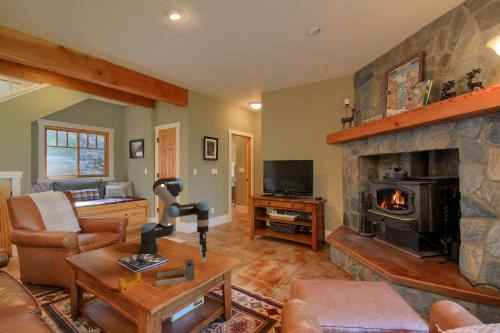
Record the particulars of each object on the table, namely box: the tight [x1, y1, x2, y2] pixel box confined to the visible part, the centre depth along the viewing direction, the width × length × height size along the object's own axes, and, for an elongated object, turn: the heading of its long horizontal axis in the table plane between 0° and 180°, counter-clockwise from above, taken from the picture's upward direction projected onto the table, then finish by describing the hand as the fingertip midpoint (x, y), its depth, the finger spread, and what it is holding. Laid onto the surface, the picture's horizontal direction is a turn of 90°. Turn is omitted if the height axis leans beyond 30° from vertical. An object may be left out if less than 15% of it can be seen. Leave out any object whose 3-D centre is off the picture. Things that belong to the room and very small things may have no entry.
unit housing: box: [184, 258, 195, 282], centre depth 153 cm, size 11×5×10 cm, turn 18°
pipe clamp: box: [118, 271, 142, 293], centre depth 139 cm, size 12×4×6 cm, turn 144°
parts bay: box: [155, 268, 187, 287], centre depth 149 cm, size 13×17×2 cm
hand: (202, 257), depth 156 cm, fingers open, 13 cm apart
